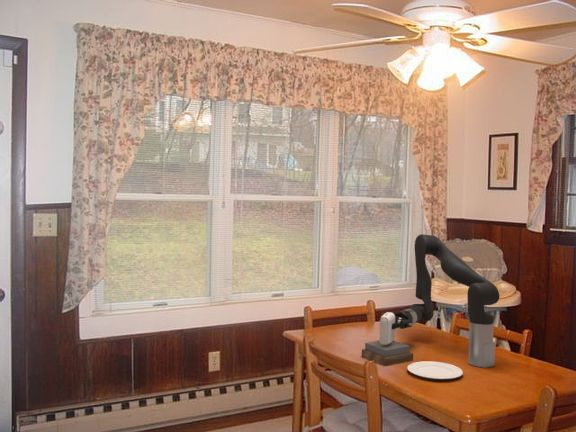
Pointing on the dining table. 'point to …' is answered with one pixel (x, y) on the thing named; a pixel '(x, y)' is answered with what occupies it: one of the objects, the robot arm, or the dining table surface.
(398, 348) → the top brick
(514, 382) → the dining table surface
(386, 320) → the photo printer
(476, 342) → the robot arm
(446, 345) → the dining table surface
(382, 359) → the base brick
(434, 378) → the plate
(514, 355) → the dining table surface
